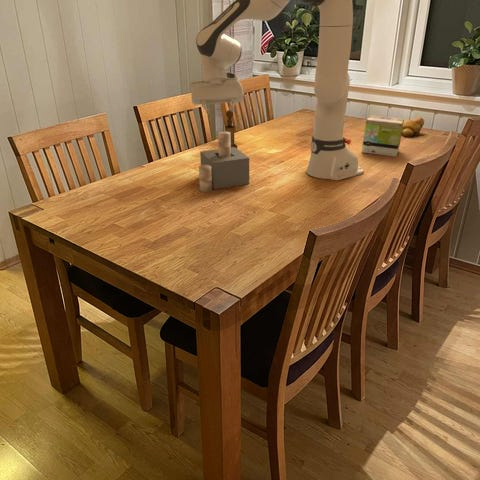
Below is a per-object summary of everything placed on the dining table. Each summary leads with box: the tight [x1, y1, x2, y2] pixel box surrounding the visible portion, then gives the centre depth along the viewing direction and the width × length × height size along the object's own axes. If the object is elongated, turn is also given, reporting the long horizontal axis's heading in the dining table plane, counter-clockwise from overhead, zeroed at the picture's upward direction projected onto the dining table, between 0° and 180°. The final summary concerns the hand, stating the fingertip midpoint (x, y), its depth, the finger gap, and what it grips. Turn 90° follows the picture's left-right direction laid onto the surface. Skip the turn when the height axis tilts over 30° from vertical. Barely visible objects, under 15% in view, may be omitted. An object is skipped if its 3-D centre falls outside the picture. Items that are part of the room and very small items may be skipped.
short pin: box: [198, 164, 213, 194], centre depth 166 cm, size 4×4×9 cm
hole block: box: [199, 147, 250, 190], centre depth 175 cm, size 14×14×10 cm
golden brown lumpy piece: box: [401, 117, 425, 137], centre depth 230 cm, size 13×10×8 cm
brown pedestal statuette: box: [225, 109, 238, 149], centre depth 204 cm, size 7×6×18 cm
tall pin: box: [217, 130, 231, 158], centre depth 173 cm, size 4×4×18 cm
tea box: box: [361, 114, 405, 158], centre depth 204 cm, size 15×10×15 cm, turn 68°
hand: (220, 111), depth 178 cm, fingers open, 8 cm apart
